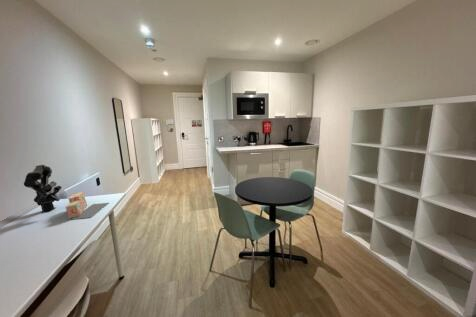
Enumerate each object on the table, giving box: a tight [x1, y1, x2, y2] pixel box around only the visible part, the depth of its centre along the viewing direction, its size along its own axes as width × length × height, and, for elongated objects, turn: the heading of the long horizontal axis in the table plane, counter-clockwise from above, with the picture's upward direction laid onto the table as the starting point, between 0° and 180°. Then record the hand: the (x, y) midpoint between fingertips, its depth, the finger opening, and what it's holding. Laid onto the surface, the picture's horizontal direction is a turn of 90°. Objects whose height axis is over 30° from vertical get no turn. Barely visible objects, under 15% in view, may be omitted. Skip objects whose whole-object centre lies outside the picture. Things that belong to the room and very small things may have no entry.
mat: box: [71, 202, 110, 221], centre depth 152 cm, size 13×24×1 cm, turn 5°
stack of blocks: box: [65, 191, 88, 219], centre depth 150 cm, size 21×6×12 cm, turn 25°
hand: (59, 200), depth 148 cm, fingers closed
